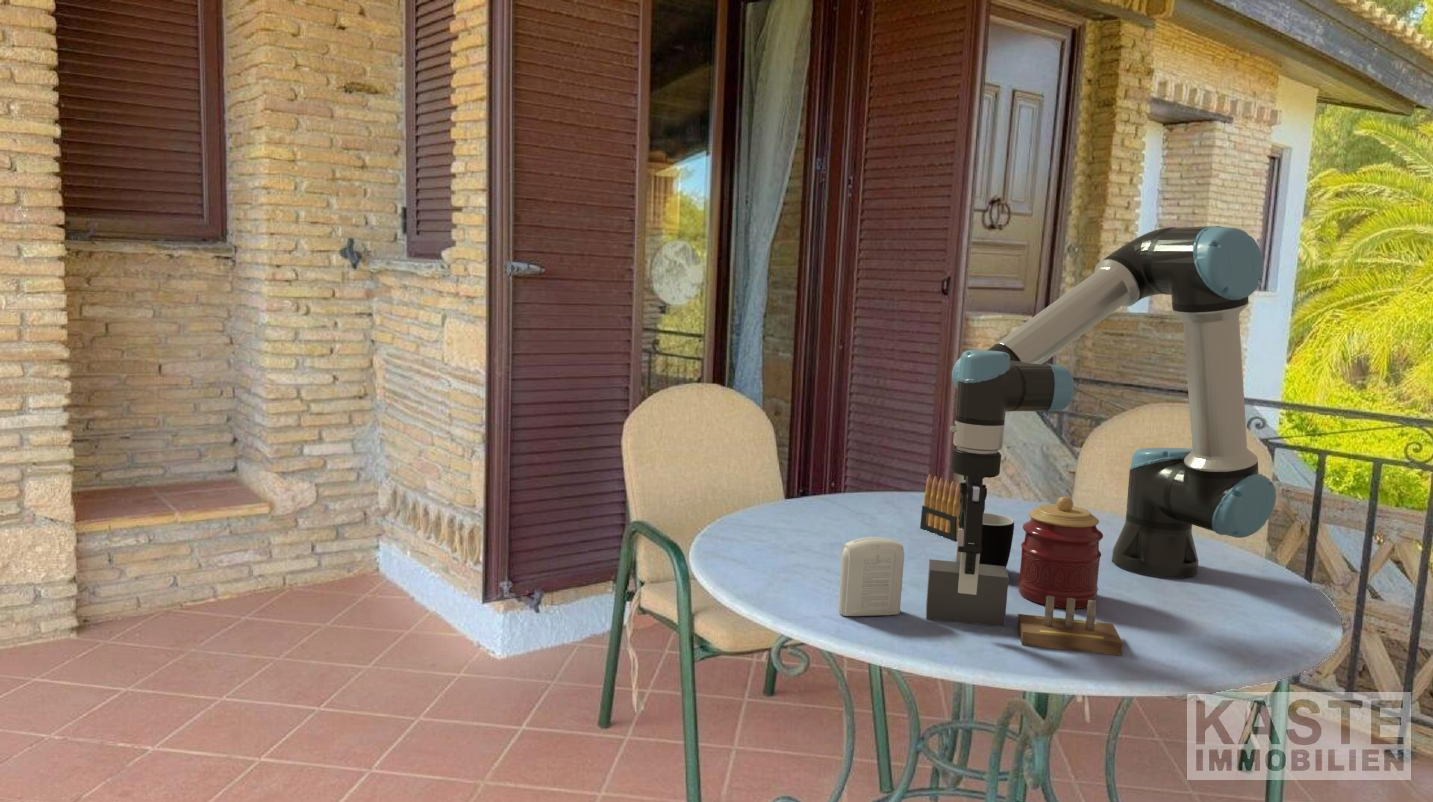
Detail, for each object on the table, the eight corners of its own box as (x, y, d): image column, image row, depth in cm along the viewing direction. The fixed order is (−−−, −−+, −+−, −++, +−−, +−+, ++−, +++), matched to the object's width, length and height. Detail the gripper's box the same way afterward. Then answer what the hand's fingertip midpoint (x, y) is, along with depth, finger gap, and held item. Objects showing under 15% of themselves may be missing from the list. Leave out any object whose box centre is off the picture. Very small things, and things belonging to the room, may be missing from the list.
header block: (1111, 636, 154) (1115, 595, 153) (1121, 655, 146) (1125, 613, 145) (1017, 626, 156) (1020, 586, 156) (1022, 644, 149) (1025, 602, 148)
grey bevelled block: (1001, 614, 162) (1005, 566, 161) (1004, 627, 156) (1008, 577, 155) (926, 606, 164) (929, 559, 163) (926, 618, 158) (929, 570, 157)
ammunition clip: (961, 540, 205) (965, 483, 203) (954, 541, 204) (958, 484, 202) (926, 527, 214) (930, 472, 213) (919, 528, 213) (923, 473, 212)
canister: (1008, 583, 178) (1016, 486, 176) (1082, 586, 178) (1090, 489, 175) (1029, 608, 165) (1037, 504, 163) (1108, 612, 165) (1118, 507, 162)
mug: (1019, 578, 181) (1024, 524, 179) (975, 580, 179) (979, 525, 177) (985, 559, 192) (989, 507, 191) (943, 561, 190) (947, 509, 189)
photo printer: (893, 607, 163) (898, 533, 162) (904, 616, 159) (909, 541, 157) (833, 609, 161) (838, 535, 159) (843, 619, 157) (847, 542, 155)
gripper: (950, 434, 169) (939, 556, 172) (954, 461, 145) (942, 602, 148) (995, 438, 168) (984, 560, 170) (1008, 465, 143) (995, 608, 146)
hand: (965, 580), depth 159 cm, fingers open, 13 cm apart
